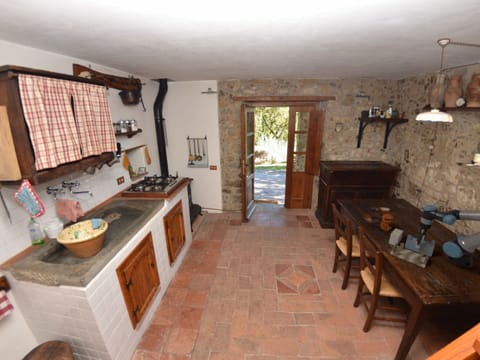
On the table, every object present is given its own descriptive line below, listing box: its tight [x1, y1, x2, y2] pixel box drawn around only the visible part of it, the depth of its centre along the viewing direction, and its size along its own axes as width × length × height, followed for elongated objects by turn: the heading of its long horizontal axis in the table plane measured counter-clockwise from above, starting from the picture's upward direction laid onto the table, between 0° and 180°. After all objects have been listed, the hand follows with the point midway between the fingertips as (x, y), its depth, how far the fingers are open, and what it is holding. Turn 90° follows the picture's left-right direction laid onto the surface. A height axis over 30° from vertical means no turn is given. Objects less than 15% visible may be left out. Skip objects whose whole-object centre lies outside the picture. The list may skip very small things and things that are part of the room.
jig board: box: [389, 241, 430, 269], centre depth 177 cm, size 23×16×6 cm
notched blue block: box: [404, 234, 436, 257], centre depth 184 cm, size 18×7×13 cm, turn 48°
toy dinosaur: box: [379, 213, 394, 232], centre depth 216 cm, size 11×11×18 cm
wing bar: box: [388, 228, 404, 246], centre depth 197 cm, size 6×14×10 cm, turn 131°
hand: (418, 244), depth 185 cm, fingers open, 13 cm apart
